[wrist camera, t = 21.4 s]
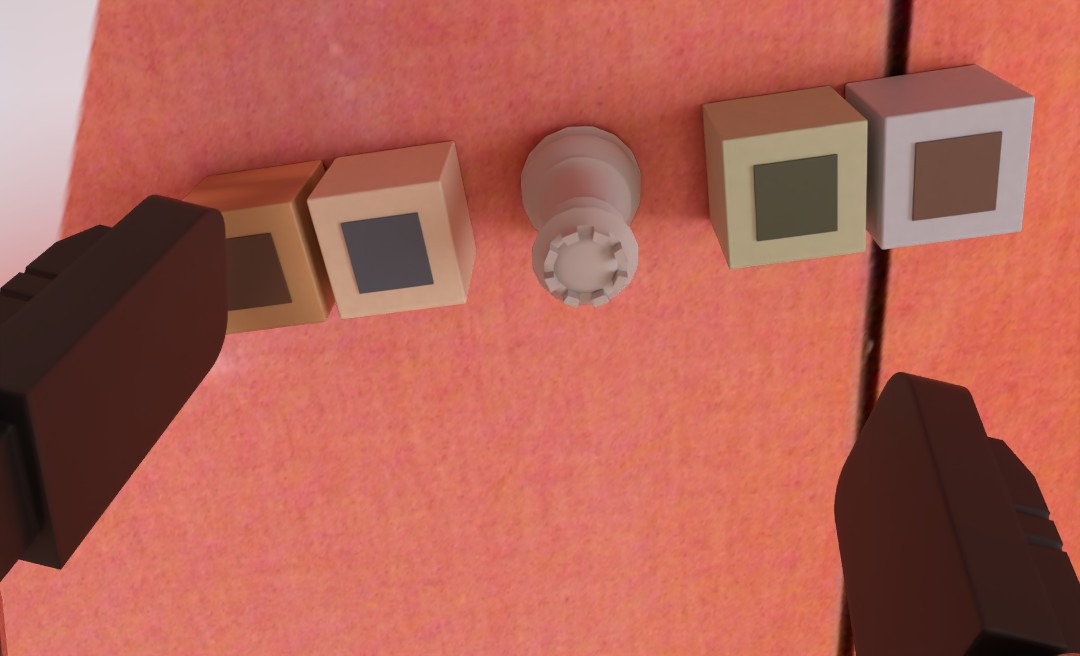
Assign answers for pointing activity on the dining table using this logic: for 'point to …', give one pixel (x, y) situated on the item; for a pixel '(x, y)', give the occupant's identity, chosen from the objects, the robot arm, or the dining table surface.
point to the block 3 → (786, 176)
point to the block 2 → (395, 230)
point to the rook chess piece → (582, 214)
